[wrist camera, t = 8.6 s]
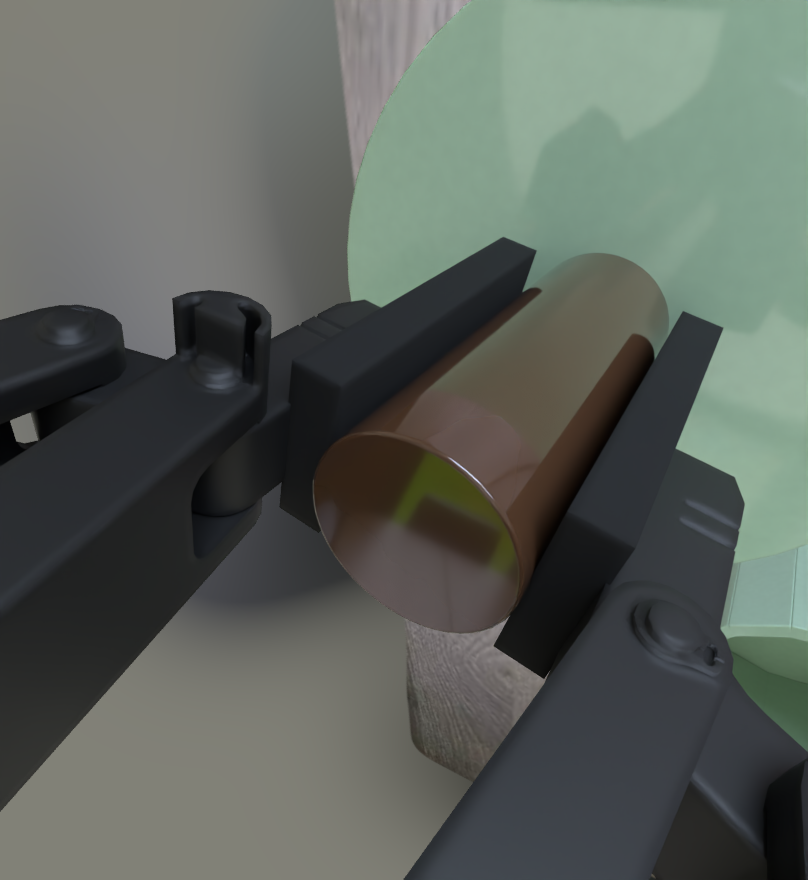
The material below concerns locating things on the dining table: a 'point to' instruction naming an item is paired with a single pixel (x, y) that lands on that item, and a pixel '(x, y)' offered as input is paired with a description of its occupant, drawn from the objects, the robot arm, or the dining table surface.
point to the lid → (577, 281)
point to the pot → (772, 636)
